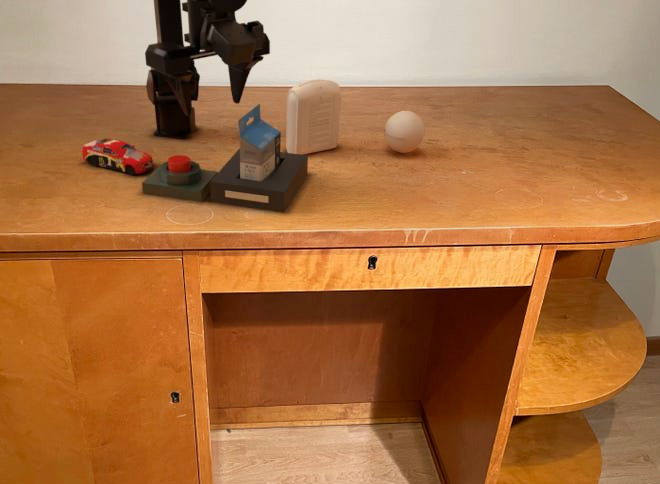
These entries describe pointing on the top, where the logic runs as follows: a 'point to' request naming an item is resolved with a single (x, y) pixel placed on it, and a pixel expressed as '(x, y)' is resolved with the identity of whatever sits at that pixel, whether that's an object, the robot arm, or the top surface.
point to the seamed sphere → (404, 131)
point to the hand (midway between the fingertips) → (212, 108)
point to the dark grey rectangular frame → (260, 184)
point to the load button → (179, 164)
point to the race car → (117, 156)
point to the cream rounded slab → (312, 116)
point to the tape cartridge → (258, 148)
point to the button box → (179, 183)
